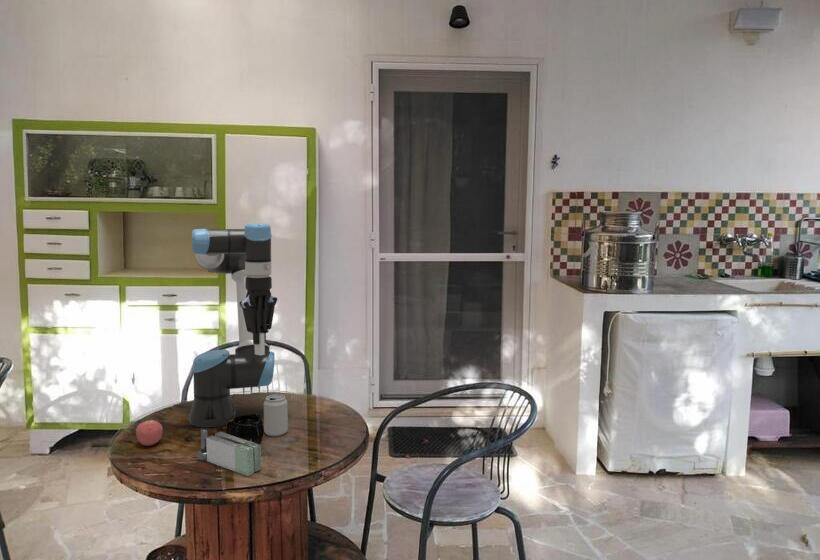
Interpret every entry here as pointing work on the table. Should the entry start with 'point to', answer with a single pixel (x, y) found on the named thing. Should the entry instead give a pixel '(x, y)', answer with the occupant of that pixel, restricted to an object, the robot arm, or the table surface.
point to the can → (275, 415)
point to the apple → (149, 432)
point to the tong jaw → (247, 443)
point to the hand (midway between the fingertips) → (259, 354)
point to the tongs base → (226, 454)
